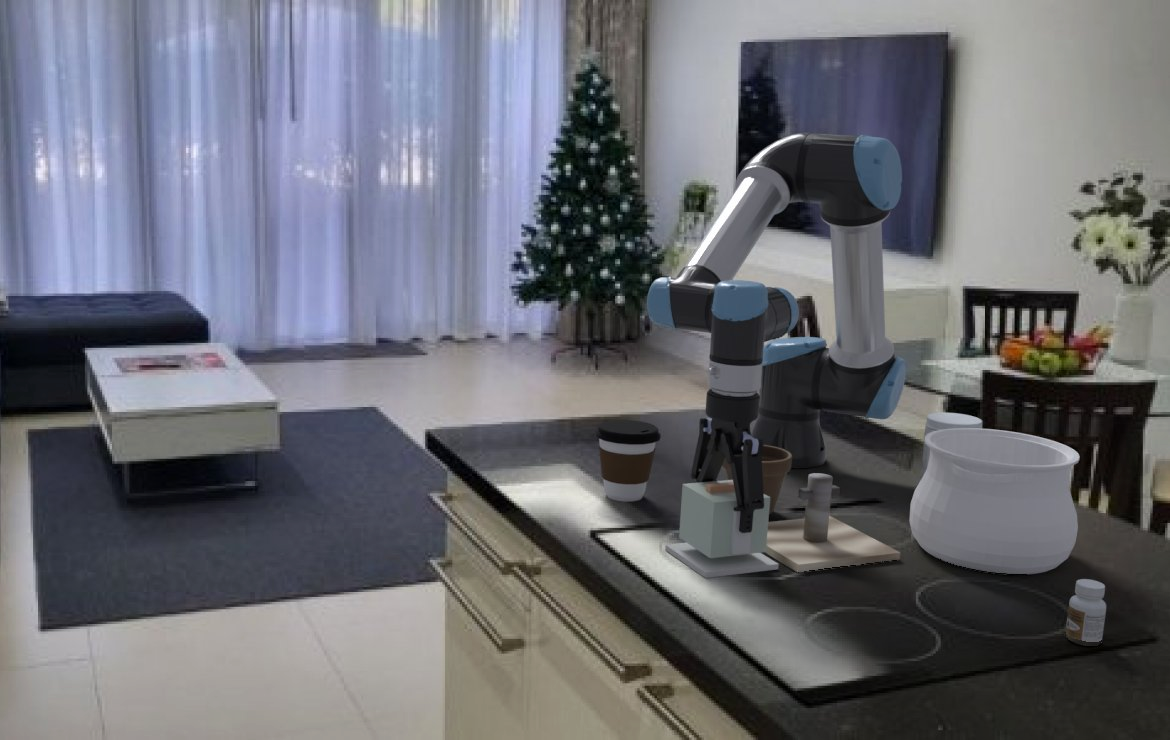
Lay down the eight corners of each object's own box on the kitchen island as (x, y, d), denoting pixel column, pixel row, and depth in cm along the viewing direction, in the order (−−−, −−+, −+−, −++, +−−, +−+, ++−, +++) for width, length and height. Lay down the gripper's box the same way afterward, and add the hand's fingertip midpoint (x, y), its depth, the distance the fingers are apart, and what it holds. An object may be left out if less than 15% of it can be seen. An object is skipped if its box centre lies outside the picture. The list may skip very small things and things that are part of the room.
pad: (665, 549, 189) (665, 544, 189) (735, 542, 194) (735, 537, 194) (705, 577, 179) (705, 572, 179) (778, 569, 184) (778, 563, 184)
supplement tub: (986, 504, 221) (996, 421, 218) (949, 511, 216) (959, 427, 213) (943, 489, 229) (952, 409, 226) (906, 496, 224) (914, 414, 221)
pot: (1051, 595, 179) (1066, 480, 176) (883, 557, 192) (894, 448, 188) (1088, 548, 200) (1102, 444, 197) (934, 516, 213) (945, 418, 210)
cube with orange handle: (732, 531, 192) (737, 472, 190) (765, 551, 184) (770, 490, 182) (679, 537, 188) (683, 477, 187) (710, 558, 180) (714, 495, 178)
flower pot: (708, 515, 207) (713, 454, 205) (726, 496, 218) (730, 439, 216) (779, 526, 203) (784, 465, 201) (793, 507, 214) (798, 448, 212)
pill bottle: (1058, 633, 165) (1066, 577, 164) (1091, 634, 166) (1099, 577, 164) (1074, 647, 161) (1082, 589, 160) (1107, 648, 162) (1115, 590, 160)
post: (732, 532, 199) (738, 464, 197) (829, 522, 206) (835, 457, 204) (797, 572, 183) (804, 498, 181) (899, 560, 190) (906, 489, 188)
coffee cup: (670, 497, 215) (674, 428, 213) (627, 510, 207) (631, 438, 205) (621, 483, 223) (625, 415, 220) (578, 494, 215) (581, 424, 212)
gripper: (673, 375, 190) (664, 520, 194) (751, 409, 170) (739, 569, 175) (717, 373, 193) (707, 516, 197) (799, 406, 173) (785, 564, 178)
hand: (722, 541), depth 186 cm, fingers closed on cube with orange handle, 9 cm apart
